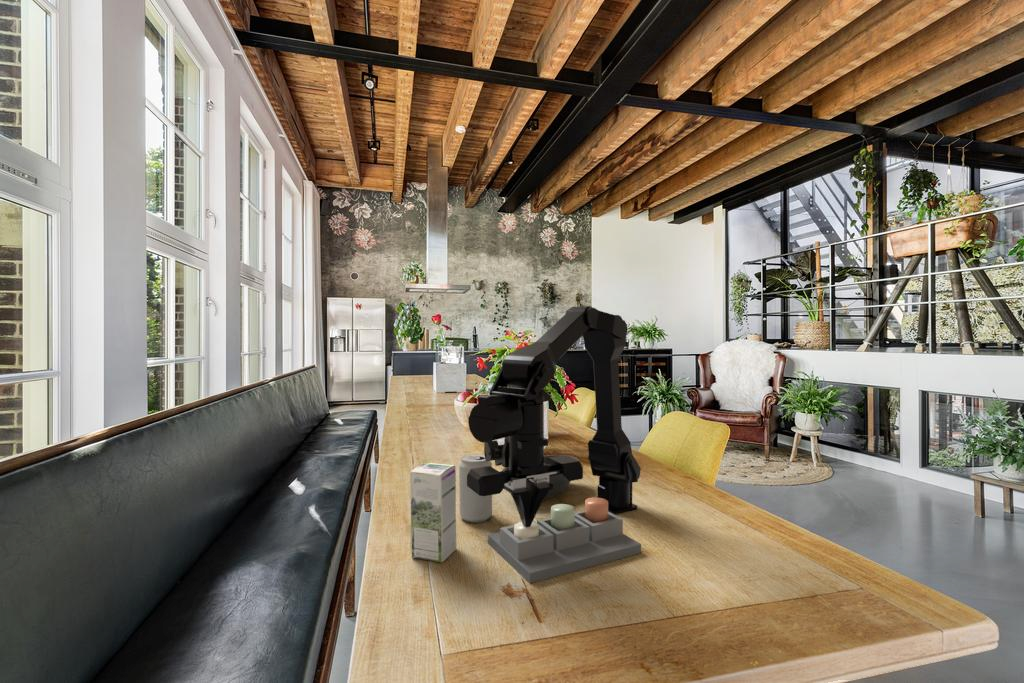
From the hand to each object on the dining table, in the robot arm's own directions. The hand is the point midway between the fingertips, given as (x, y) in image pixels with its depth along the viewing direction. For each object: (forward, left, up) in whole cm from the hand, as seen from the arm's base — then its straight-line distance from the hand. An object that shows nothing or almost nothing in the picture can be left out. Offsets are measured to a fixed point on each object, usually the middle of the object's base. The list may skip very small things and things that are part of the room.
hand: (526, 526), depth 80 cm
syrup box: (+13, -8, -5) cm, 16 cm away
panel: (-7, 0, -5) cm, 9 cm away
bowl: (-18, -26, -5) cm, 32 cm away
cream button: (0, 0, -3) cm, 3 cm away
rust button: (-14, 0, -1) cm, 14 cm away
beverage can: (+1, -19, -5) cm, 20 cm away
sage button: (-7, 0, -1) cm, 7 cm away
